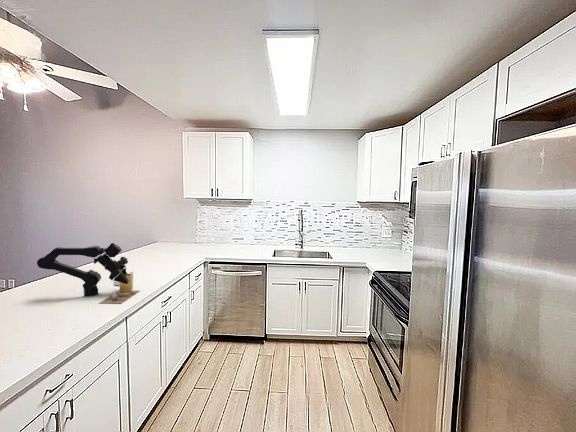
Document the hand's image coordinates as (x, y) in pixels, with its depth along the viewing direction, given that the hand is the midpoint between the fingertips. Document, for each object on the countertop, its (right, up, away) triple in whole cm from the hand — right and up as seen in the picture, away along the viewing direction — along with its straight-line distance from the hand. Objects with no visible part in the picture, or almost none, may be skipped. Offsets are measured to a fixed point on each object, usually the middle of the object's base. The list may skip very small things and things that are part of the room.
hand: (128, 281), depth 204 cm
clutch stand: (-1, -9, -7) cm, 11 cm away
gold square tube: (-2, -6, 0) cm, 6 cm away
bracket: (-16, -7, +27) cm, 32 cm away
